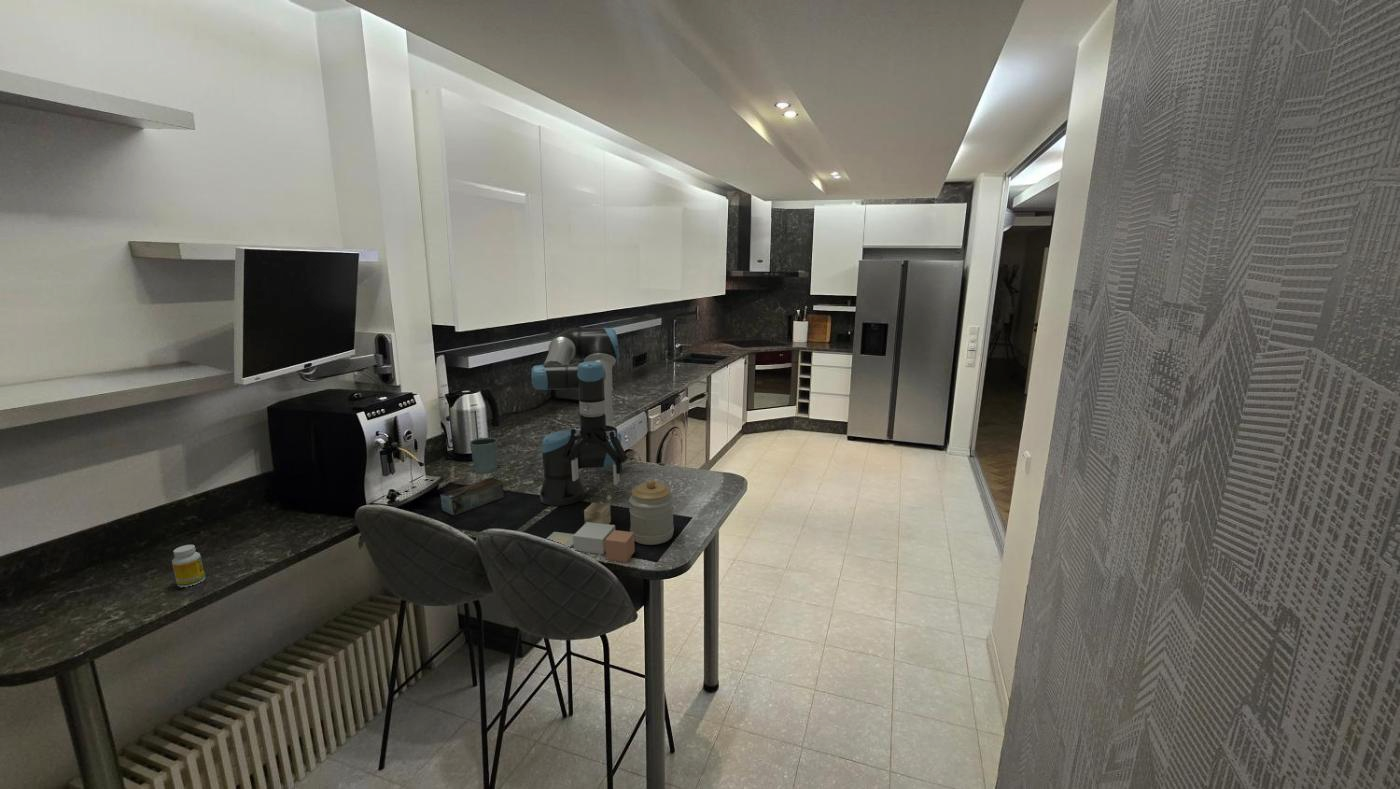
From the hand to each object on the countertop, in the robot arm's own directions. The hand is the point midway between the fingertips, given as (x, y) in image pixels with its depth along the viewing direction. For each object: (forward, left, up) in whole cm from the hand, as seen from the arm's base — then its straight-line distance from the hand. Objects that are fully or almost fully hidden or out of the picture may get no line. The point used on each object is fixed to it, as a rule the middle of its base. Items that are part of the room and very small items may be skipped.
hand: (595, 481), depth 169 cm
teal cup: (-64, +35, -15) cm, 75 cm away
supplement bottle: (-88, -55, -15) cm, 104 cm away
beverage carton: (-48, +5, -15) cm, 51 cm away
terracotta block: (+14, -16, -15) cm, 26 cm away
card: (-6, -13, -15) cm, 20 cm away
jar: (+19, -2, -15) cm, 24 cm away
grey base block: (+4, -12, -15) cm, 19 cm away
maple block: (0, 0, -15) cm, 15 cm away
